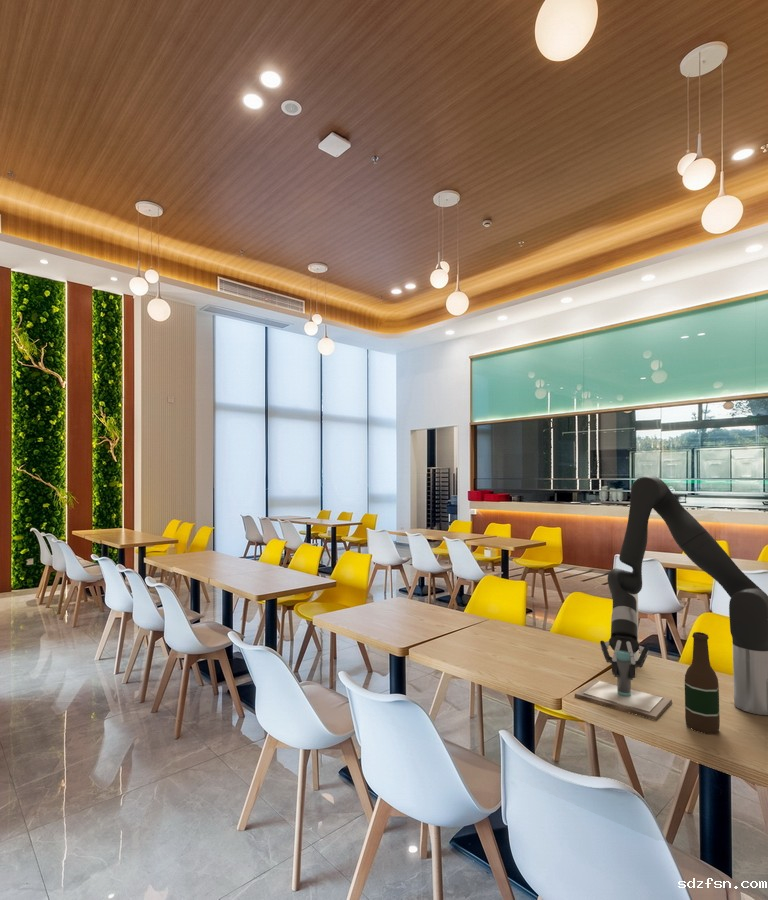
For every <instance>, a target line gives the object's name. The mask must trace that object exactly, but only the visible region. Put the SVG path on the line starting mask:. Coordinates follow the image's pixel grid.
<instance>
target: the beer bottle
mask: <svg viewBox="0 0 768 900" xmlns="http://www.w3.org/2000/svg"><path fill="white" fill-rule="evenodd" d="M691 637H692V638H693V644H692V645H693V646H692V660H691V664H690V665H689V667H688V668H687V669H686V672H685V674H684V713H685V715H684V717H685V718H684V719H685V725H686V727H688V726H689V727H690V728H689V727H688V728H689V729H691V728H692V729H693V730H692V729H691V730H692V731H694V730H695V731H694V732H697V731H698V732H697V733H701V732H702V733H701V734H704V733H705V735H717V733H718V732H719V730H720V724H721V723H720V720H721V719H720V686H719V678H718V676H717V672H716V671H715V670H714V668H712V666H711V662H710V652H709V642H708V640H709V639H710V638H709V634H707V633H705V632H701V631H699V632H697V631H695V632H693V633H692V636H691Z"/></svg>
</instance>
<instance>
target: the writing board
mask: <svg viewBox="0 0 768 900" xmlns="http://www.w3.org/2000/svg"><path fill="white" fill-rule="evenodd" d="M574 698H577V699H580V700H584V701H587V702H590V703H593V704H597V703H598V704H597V705H601V704H602V705H601V706H604V705H605V707H607V706H608V708H611V707H612V709H614V710H618V711H621V710H622V711H621V712H625V711H626V713H628V712H630V713H629V714H632V713H633V714H632V715H635V714H637V715H636V716H638V715H641V716H640V717H642V716H644V717H643V718H645V717H647V718H646V719H649V718H650V719H649V720H652V719H653V721H657V720H658V719H659V718H660V717H661V716H662V715H663V713H664V712H665V711H666V710H667V709H668V708H669V707H670V706H671V704H672V703H673V699H672V698H670V697H665V696H660V695H658V694H654V693H649V692H646V691H642V690H639V689H634V688H631V696H629V697H625V696H621V695H619V694H618V693H617V683H616V684H615V683H611V682H607V681H604V680H599V679H596V678H594V679H593V680H592V681H590V682H588V683H587V684H586V685H585V686H583V687H582V688H580V689H579V690H578V691H576V692H575V693H574ZM660 715H661V716H660Z"/></svg>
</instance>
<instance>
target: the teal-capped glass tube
mask: <svg viewBox="0 0 768 900" xmlns="http://www.w3.org/2000/svg"><path fill="white" fill-rule="evenodd" d="M616 658H617V677H616V681H617V682H616V685H617V693H618V694H619V695H621V696H625V697H629V696H631V689H632V688H631V687H632V684H631V683H632V682H631V681H632V680H630V665H631V664H630V661H631V653H630V652H628V651H623V650H618V651H616Z"/></svg>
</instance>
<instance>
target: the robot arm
mask: <svg viewBox="0 0 768 900" xmlns="http://www.w3.org/2000/svg"><path fill="white" fill-rule="evenodd" d="M629 501H630V502H629V510H628V511H629V512H628V517H627V524H626V530H625V533H624V537H623V540H622V545H621V549H620V553H619V561H620V562H621V563H622V564H625V565H627V566H628V567H631V569H632V571H628V570H624V569H622V568H621V569H620V568H618V567H617V568H616V567H615V568H612V569H611V570H610V571H609V572H608V574H607V585H608V589H609V591H610V594H611V597H612V599H611V600H612V610H611V611H612V612H611V617H610V620H611V622H610V624H611V625H610V638H609V639H608V641H604V640H600V641H599V642H600V643H599V644H600V649H601V652H602V654H603V657H604V660H605V662H606V663H608V664H609V663H610V664H611V674H612V675H613V676H614V678H617V658H616V651H618V650H623V651H628V652H630V653H631V661H630V680H631V681H634V679H636V668H640V669H641V668H642V667H643V666H644V664H645V662H646V659H647V657H648V655H649V647H648V646H642V645H640V643H638V639H639V620H638V621H637V607H636V606H637V603H636V599H635V597H634V596H633V595H631V594H637V593H638V594H639V593H640V592H641V591H642V589H643V575H642V573H643V572H642V571H643V562H644V556H645V553H646V549H647V545H648V533H649V532H648V526H649V525H648V524H649V519H650V516H651V513H652V510H654V512H656V513H657V514H658V516H660V517H661V519H662V520H663V521H664V522H665V524H666V527H667V528H668V531H669V532H670V534H671V536H672V538H673V539H674V541H675V543H676V544H677V546H678V547H679V548H680V550H681V551H682V552H683V553H684V554H685V555H686V556H687V557H688V558H689V560H690V561H691V562H692V563H694V565H696V566H697V567H698V568H700V569H701V570H702V571H703V572H705V573H706V574H708V575H709V576H710V577H711V578H712V579H713V580H715V581H716V582H717V583H718V584H719V585H720V587H722V588H723V590H724V591H725V592H726V593H727V594H728V597H730V599H729V603H728V604H729V606H728V607H729V608H728V615H729V630H730V635H731V640H732V641H731V642H732V669H733V671H732V673H733V674H732V675H733V704H734V706H735V707H736V708H737V709H739V710H741V711H743V712H746V713H750V714H754V715H759V716H768V594H767V593H766V592H765V591H764V590H762V589H761V587H759V586H758V585H757V584H756V583H755V582H754V581H752V579H750V578H749V577H748V575H746V574H745V573H744V572H743V571H742V570H741V569H740V568H739V567H738V565H737V564H736V563H735V562H734V560H733V559H732V558H731V557H730V555H729V554H728V553H727V552H726V550H725V549H724V548H723V547H722V546H721V545H720V544H719V543H718V541H716V539H715V538H714V537H713V536H712V535H711V534H710V532H709V531H708V530H707V529H706V528H705V527H704V526H703V525H702V524H701V523H700V522H699V521H698V520H697V519H696V518H695V517H694V516H693V515H692V514H691V513H690V512H689V511H687V510H686V508H684V506H683V505H682V504H681V503H680V501H679V500H678V499H677V497H676V496H675V495H674V494H673V492H672V491H671V489H670V488H669V487H668V484H666V483H665V481H664V480H662V479H660V478H659V477H655V476H641V477H638V478H637V479H635V480H634V481H633V483H632V485H631V489H630V499H629ZM629 593H630V594H629ZM609 647H611V649H612V650H613V655H612V656H611V655H610V653H609V651H608V650H609ZM638 650H639V659H638V661H635V659H634V654H635V653H636V652H637V651H638Z"/></svg>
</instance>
